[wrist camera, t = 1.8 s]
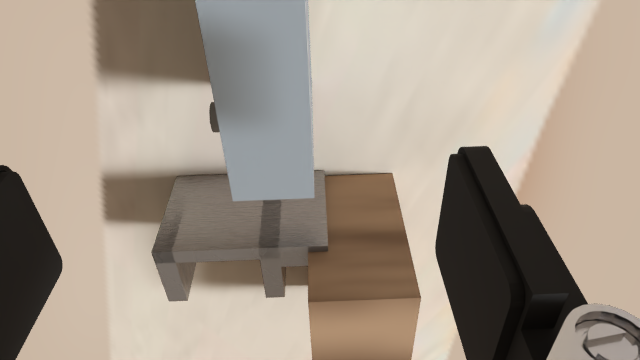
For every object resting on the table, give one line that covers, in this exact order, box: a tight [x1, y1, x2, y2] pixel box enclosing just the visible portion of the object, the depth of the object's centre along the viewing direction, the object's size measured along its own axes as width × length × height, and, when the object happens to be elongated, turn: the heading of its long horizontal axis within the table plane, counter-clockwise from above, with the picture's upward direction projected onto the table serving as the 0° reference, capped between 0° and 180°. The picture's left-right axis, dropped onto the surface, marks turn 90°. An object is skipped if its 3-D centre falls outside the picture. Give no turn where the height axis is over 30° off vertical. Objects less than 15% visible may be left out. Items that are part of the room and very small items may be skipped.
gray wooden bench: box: [151, 171, 328, 301], centre depth 27 cm, size 4×9×6 cm, turn 92°
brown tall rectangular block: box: [308, 173, 421, 360], centre depth 28 cm, size 10×5×9 cm, turn 2°
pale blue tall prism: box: [195, 0, 314, 201], centre depth 18 cm, size 10×4×9 cm, turn 2°
